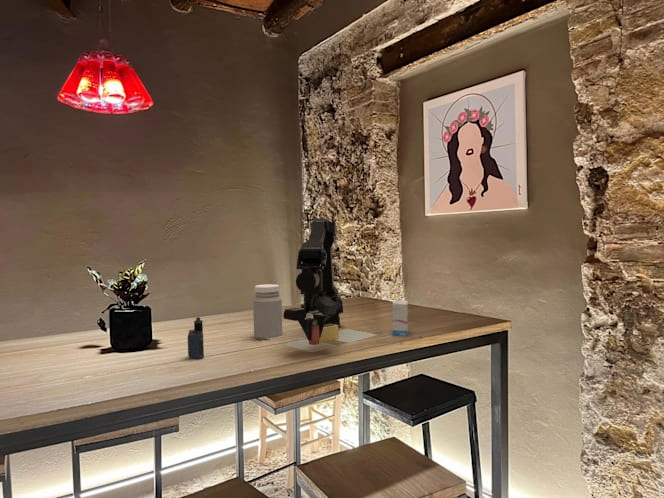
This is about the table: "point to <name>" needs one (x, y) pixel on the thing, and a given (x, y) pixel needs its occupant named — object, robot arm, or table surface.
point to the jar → (267, 312)
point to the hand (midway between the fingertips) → (314, 339)
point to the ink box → (400, 318)
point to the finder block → (329, 333)
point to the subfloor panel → (344, 338)
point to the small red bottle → (315, 333)
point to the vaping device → (196, 340)
